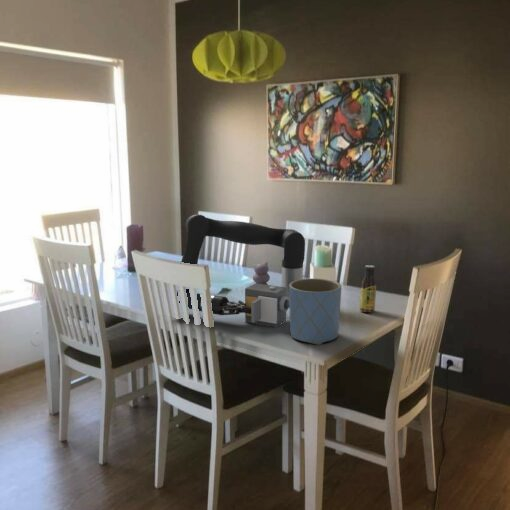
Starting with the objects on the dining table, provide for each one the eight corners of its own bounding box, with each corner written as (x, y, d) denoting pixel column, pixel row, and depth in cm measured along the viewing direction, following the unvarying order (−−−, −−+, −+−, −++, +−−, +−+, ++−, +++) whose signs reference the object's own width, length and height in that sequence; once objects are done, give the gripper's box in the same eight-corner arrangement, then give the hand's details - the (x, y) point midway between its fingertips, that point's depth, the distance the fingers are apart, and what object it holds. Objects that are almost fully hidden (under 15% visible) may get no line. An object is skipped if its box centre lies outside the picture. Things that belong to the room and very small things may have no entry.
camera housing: (245, 322, 223) (244, 286, 220) (255, 315, 231) (255, 281, 228) (282, 328, 215) (282, 292, 212) (291, 321, 223) (292, 286, 220)
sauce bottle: (367, 314, 232) (368, 268, 227) (356, 310, 237) (358, 265, 233) (378, 312, 235) (380, 266, 231) (367, 308, 240) (369, 263, 236)
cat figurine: (256, 289, 270) (256, 265, 267) (250, 285, 277) (250, 262, 275) (272, 287, 273) (272, 264, 271) (266, 283, 280) (266, 260, 278)
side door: (251, 324, 214) (251, 300, 212) (259, 320, 219) (258, 295, 217) (269, 328, 210) (269, 302, 208) (277, 323, 216) (277, 298, 214)
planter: (308, 324, 220) (309, 275, 216) (349, 335, 208) (351, 284, 204) (278, 337, 206) (278, 285, 202) (320, 350, 194) (321, 295, 190)
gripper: (205, 299, 216) (244, 306, 208) (222, 291, 228) (260, 297, 220) (205, 318, 218) (244, 325, 210) (223, 309, 229) (260, 315, 221)
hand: (252, 310), depth 215 cm, fingers closed
